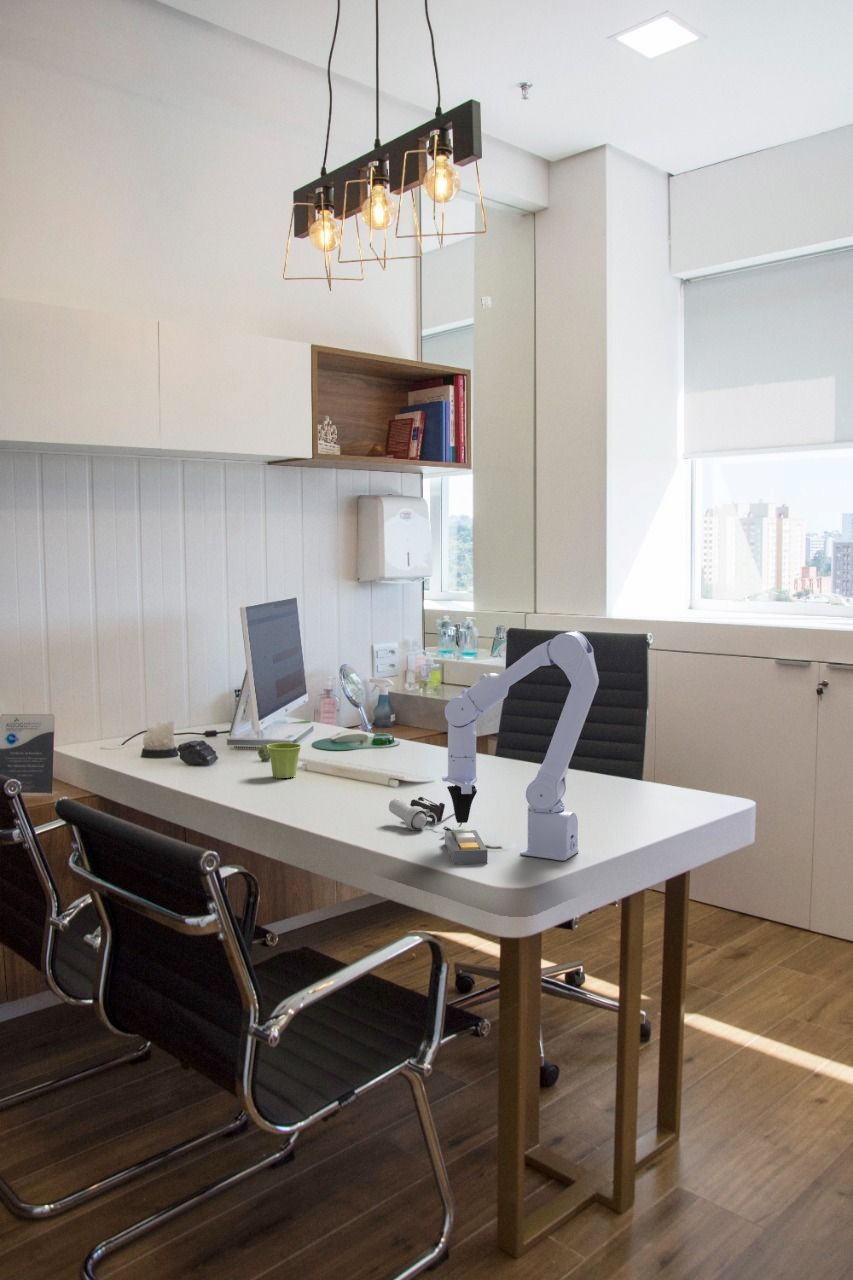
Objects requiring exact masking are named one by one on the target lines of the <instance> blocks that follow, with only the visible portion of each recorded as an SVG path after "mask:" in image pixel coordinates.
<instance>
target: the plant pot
mask: <svg viewBox="0 0 853 1280" xmlns="http://www.w3.org/2000/svg"><path fill="white" fill-rule="evenodd" d="M266 748H267V749H268V750H267V751H268V754H269V757H270V764H271V772H272V778H275V777H276V778H275V779H277V778H287V779H288V778H289V779H291V778H290V777H294V776H296V775H297V768H298V759H299V754H300V751H301V749H302V744H300V743H295V742H275V743H269V744H267V745H266ZM294 778H295V777H294Z"/></svg>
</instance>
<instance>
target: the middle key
mask: <svg viewBox="0 0 853 1280" xmlns="http://www.w3.org/2000/svg"><path fill="white" fill-rule="evenodd" d="M470 842H475V836H474V834H473V833H456V843H470Z"/></svg>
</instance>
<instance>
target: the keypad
mask: <svg viewBox="0 0 853 1280" xmlns="http://www.w3.org/2000/svg"><path fill="white" fill-rule="evenodd" d="M471 831H472V833H473V834H474V836H475V842H476V843H477V844H478V846H479V849H470V850H460V849H459V843H456V837H453V831H446V830H444V845H445V847H446V849H447V851H448V853H449V855H450V859H451V861H452V862H453V863H452V864H454V865H476V864H477V865H478V864H482V865H483V864H488V849H487V847H486V844H485V843H484V841H483V840H482V839H481V836H480V835H479V833H478V831H477V830H476V829H471Z"/></svg>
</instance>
